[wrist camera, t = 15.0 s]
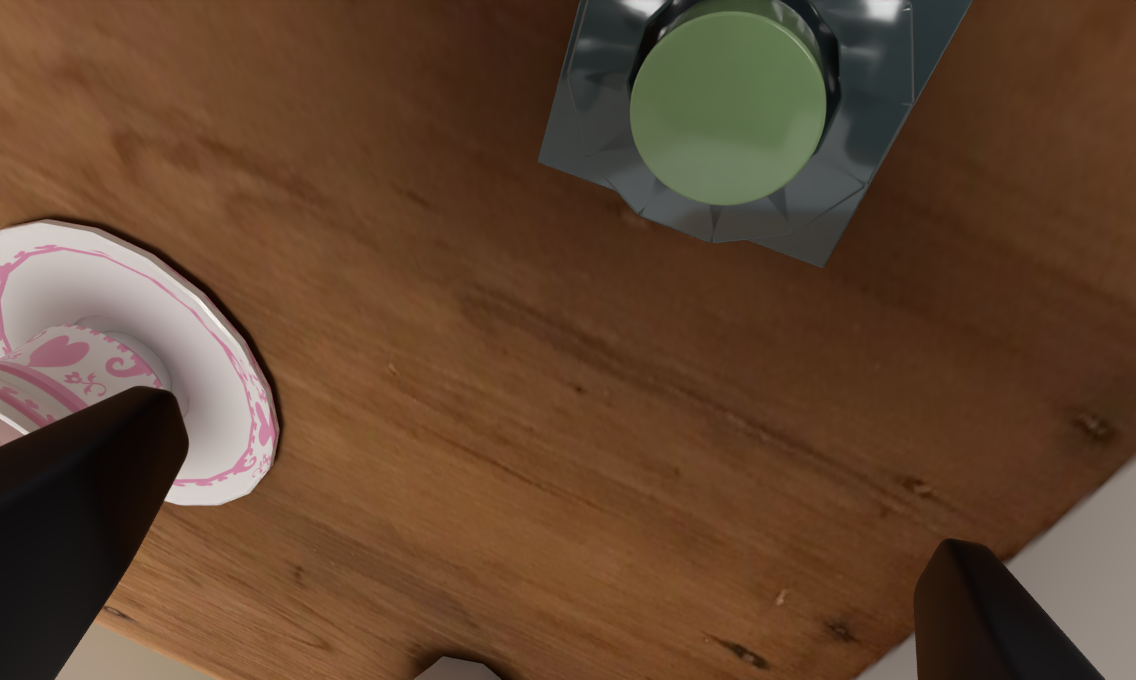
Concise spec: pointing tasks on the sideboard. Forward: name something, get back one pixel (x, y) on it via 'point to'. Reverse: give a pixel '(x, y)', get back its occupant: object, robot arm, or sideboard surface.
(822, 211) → the button base
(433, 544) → the sideboard surface
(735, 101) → the green short cylinder
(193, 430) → the teacup
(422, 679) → the salt shaker
